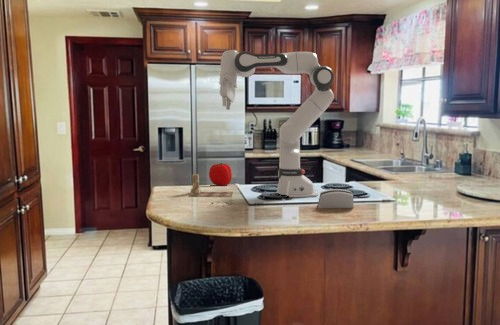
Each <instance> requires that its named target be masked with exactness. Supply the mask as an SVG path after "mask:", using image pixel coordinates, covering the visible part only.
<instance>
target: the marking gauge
mask: <svg viewBox="0 0 500 325" xmlns="http://www.w3.org/2000/svg"><path fill="white" fill-rule="evenodd" d="M191 178H192V182H191V183H192V188H191V189H190V194H191V195H199V194H200V193H201V192H202V188H201V187H200V175H199V173H198V174H197V173H193V174H192V176H191Z"/></svg>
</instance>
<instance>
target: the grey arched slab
mask: <svg viewBox="0 0 500 325" xmlns="http://www.w3.org/2000/svg"><path fill="white" fill-rule="evenodd" d="M354 203H355V202H354V194H353V192H352V191H351V190H350V191H349V190H347V189H341V188H334V189H333V188H331V189H326V190H322V191H321V192H320V193H319V198H318V201H317V206H318V209H354V208H355V205H354Z"/></svg>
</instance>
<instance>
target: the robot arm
mask: <svg viewBox="0 0 500 325" xmlns="http://www.w3.org/2000/svg"><path fill="white" fill-rule="evenodd" d="M318 59H319V58H318V57H317V54H316V53H314V52H311V51H292V52H282V53H253V52H250V51H247V50H243V51H240V52H238V51H237V49H227V50H224V51H223V53H222V55H221V60H220V73H219V82H218V83H219V85H220V89H219V95H220V96H221V97H222V98H221V99H222V100H221V101H222V107H226V108H225V109H226V110H227V111H230V110H231V105H232V103H234V101H235V96H236V89H237V86H238V84H237V80H238V79H237V78H238V76H239V77H244V78H249V77H251V76H253V75H254V74H255V71H256V68H270V67H271V68H275V69H278V70H279V72H281V73H282V74H285V75H295V74H296V75H298V74H307V77H308V80H309V82H310V84H311V85H312V86H313V87H314V89H313V92H312V93H311V95H309V97H308V98H307V99H306V100H305V101H304V102H303V103H302V104H301V105H300V106H299V107H297V109H296V110H295V112H293V114H292V115H291V116H290V117H289V118H288V119H287V120H286V121H285V122H284V123H282V125H281V126H280V128H279V159H278V160H279V165H278V166H279V167H278V172H277V173H278V174H277V176H278V185H277V188H276V192H275V193H279V194H285V195H287V196H289V197H288V198H303V197H305V198H306V197H318V196H319V192H318V190H316V189H315V185H314V183H313V181H311V179H310V178H308V177H307V176H305V175H304V174H306V171H305V169H303V168H301V137H303V135H305V133H306V132H307V131H308V130H309V129H310V128H311V126H312V125H313V124H314V123H315V122H316V121H317V120H318V119H319V118H320V117H321V116H322V115H323V114H324V113H325V111H326V110H327V109H328V108H329V107H330V105H331V104H332V102H333V101H334V99H335V95H334V92H333V91H332V86H333V82H334V78H335V75H334V71H333V70H332V68H330V67H329V66H327V65H320V64H319V60H318ZM287 196H286V197H287Z"/></svg>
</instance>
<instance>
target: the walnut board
mask: <svg viewBox="0 0 500 325" xmlns="http://www.w3.org/2000/svg"><path fill="white" fill-rule="evenodd" d="M233 193H234V191H201V193H200V194H199V195H191V193H190V194H189V195H188V198H232V196H233Z"/></svg>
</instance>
